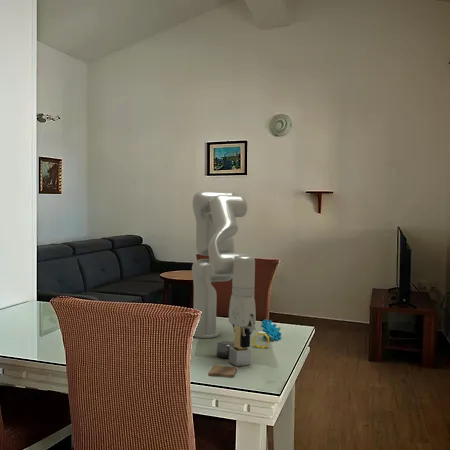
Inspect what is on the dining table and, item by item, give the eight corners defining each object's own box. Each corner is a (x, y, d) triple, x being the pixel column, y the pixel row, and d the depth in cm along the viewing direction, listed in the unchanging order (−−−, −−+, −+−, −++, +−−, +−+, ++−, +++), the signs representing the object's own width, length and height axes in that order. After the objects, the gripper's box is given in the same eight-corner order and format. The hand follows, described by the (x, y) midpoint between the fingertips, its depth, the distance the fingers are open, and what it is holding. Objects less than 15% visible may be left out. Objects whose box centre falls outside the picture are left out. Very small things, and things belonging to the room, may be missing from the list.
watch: (268, 347, 187) (270, 332, 186) (267, 349, 184) (269, 334, 184) (253, 345, 188) (254, 330, 188) (252, 347, 185) (253, 331, 185)
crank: (213, 353, 176) (213, 339, 175) (230, 351, 179) (231, 337, 178) (234, 366, 161) (234, 351, 161) (252, 364, 164) (253, 349, 164)
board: (208, 375, 153) (208, 373, 153) (213, 367, 161) (213, 365, 160) (233, 377, 151) (233, 375, 151) (237, 369, 159) (237, 367, 159)
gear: (270, 339, 192) (259, 318, 197) (261, 347, 194) (250, 326, 200) (288, 338, 199) (276, 318, 205) (279, 346, 202) (267, 326, 208)
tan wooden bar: (239, 359, 163) (240, 324, 163) (234, 357, 166) (235, 322, 165) (247, 358, 165) (248, 323, 164) (241, 356, 167) (242, 321, 167)
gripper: (220, 289, 170) (219, 341, 170) (248, 296, 156) (247, 353, 156) (238, 287, 174) (237, 338, 174) (266, 294, 160) (265, 350, 161)
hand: (242, 345), depth 165 cm, fingers closed on tan wooden bar, 3 cm apart
